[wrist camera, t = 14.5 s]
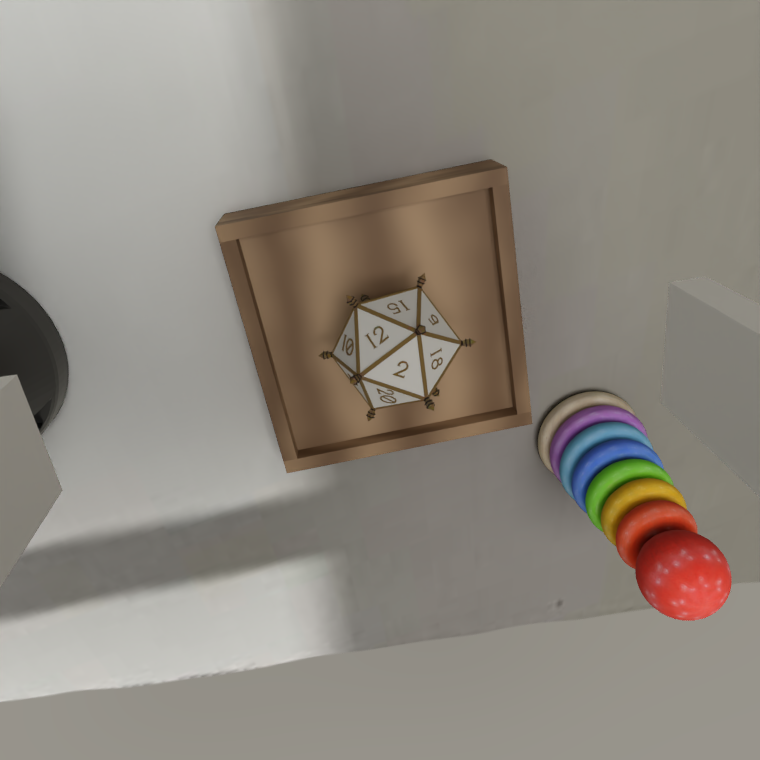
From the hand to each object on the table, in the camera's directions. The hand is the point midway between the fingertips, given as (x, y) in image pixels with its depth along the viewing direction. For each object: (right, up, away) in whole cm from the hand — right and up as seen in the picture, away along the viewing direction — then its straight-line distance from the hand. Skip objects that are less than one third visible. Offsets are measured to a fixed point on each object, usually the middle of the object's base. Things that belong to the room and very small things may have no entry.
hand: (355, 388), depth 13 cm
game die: (+1, +4, +31) cm, 31 cm away
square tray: (+1, +5, +34) cm, 34 cm away
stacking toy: (+17, -4, +39) cm, 43 cm away
